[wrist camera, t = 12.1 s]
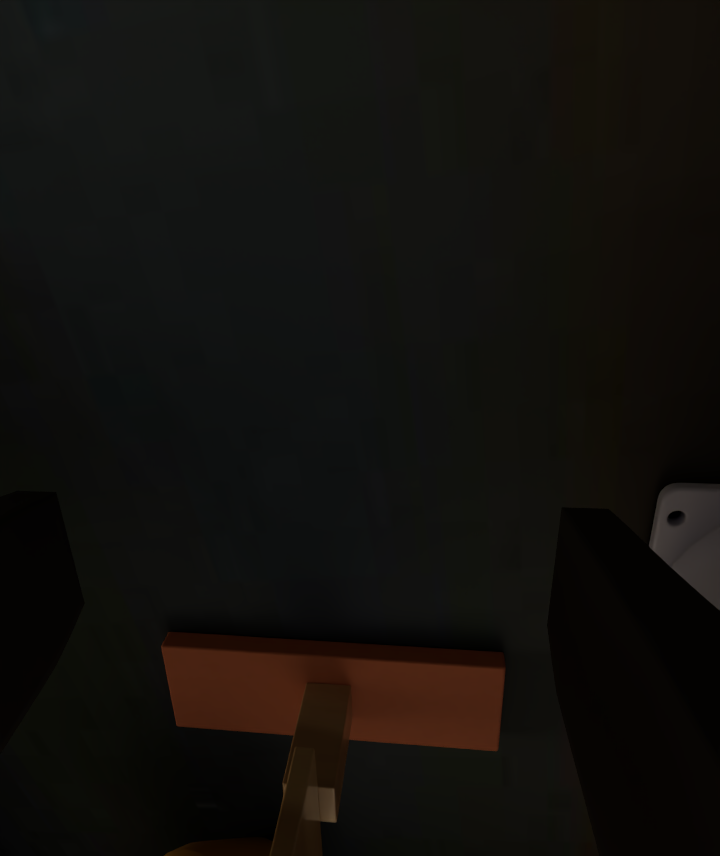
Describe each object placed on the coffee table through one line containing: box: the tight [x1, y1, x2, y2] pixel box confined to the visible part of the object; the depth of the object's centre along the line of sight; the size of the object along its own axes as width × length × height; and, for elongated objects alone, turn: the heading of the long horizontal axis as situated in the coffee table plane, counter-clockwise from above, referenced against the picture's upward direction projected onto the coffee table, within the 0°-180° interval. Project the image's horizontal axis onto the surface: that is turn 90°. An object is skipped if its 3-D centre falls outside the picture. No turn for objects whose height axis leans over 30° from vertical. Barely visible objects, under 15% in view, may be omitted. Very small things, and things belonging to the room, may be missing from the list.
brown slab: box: [270, 683, 352, 856], centre depth 21 cm, size 5×2×8 cm, turn 1°
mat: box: [161, 632, 506, 751], centre depth 25 cm, size 4×12×1 cm, turn 91°
